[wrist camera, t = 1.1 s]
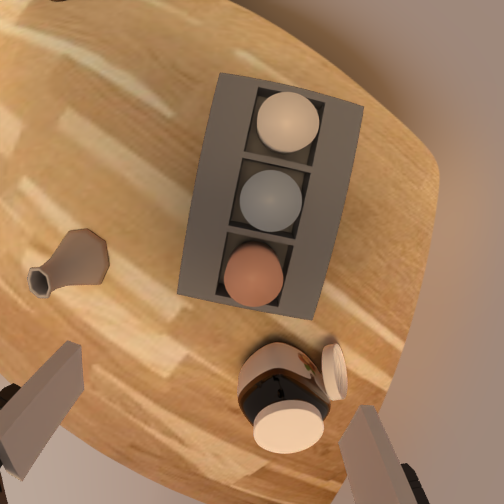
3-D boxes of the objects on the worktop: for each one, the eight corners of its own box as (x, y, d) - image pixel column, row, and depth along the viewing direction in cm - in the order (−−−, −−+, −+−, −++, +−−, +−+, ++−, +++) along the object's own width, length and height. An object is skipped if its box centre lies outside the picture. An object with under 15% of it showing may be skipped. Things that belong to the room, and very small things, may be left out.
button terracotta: (233, 236, 31) (230, 245, 27) (284, 247, 31) (289, 257, 27) (223, 285, 32) (219, 300, 28) (273, 295, 32) (275, 311, 28)
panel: (223, 84, 29) (219, 72, 25) (351, 114, 30) (364, 106, 26) (184, 281, 34) (176, 294, 31) (306, 305, 35) (312, 320, 31)
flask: (114, 235, 33) (68, 257, 24) (107, 292, 35) (67, 328, 25) (65, 221, 33) (13, 238, 23) (61, 276, 35) (14, 304, 25)
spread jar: (230, 364, 37) (222, 429, 26) (295, 303, 35) (312, 359, 24) (296, 409, 39) (306, 472, 28) (358, 358, 37) (388, 416, 26)
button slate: (247, 165, 29) (246, 164, 25) (300, 177, 29) (308, 177, 25) (236, 218, 30) (234, 224, 26) (289, 229, 30) (294, 237, 26)
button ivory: (262, 97, 27) (264, 86, 23) (315, 109, 28) (324, 100, 24) (251, 147, 28) (251, 143, 25) (304, 159, 29) (312, 157, 25)
